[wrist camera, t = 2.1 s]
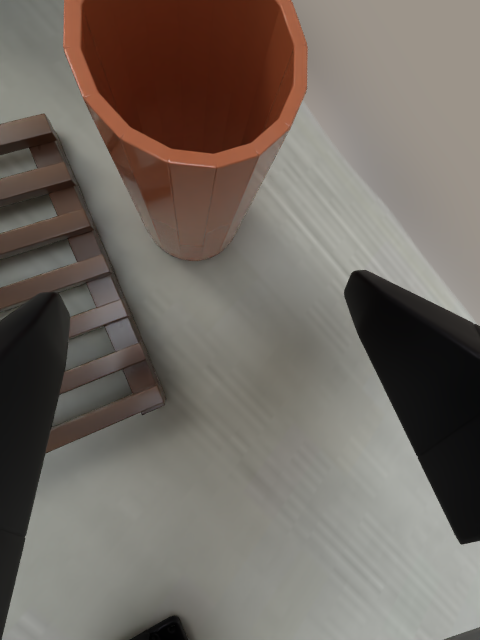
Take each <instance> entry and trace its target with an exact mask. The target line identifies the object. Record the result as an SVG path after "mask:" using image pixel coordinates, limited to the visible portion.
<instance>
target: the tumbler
mask: <svg viewBox="0 0 480 640" xmlns="http://www.w3.org/2000/svg"><path fill="white" fill-rule="evenodd" d="M63 48H64V53H65V55H66V58H67V60H68V62H69V65H70V67H71V70H72V72H73V75H74V77H75V80H76V82H77V85H78V87H79V90H80V92H81V95H82V97H83V99H84V101H85V103H86V105H87V107H88V110H89V112H90V114H91V116H92V118H93V120H94V122H95V124H96V126H97V128H98V130H99V132H100V134H101V136H102V138H103V140H104V143H105V145H106V147H107V149H108V151H109V153H110V155H111V157H112V159H113V161H114V163H115V165H116V167H117V169H118V171H119V174H120V176H121V178H122V180H123V182H124V184H125V186H126V188H127V190H128V192H129V194H130V196H131V198H132V200H133V202H134V205H135V207H136V209H137V211H138V213H139V215H140V217H141V219H142V221H143V223H144V225H145V227H146V229H147V231H148V233H149V235H150V236H151V237H152V239H153V240H154V242H155V243H156V244H157V245H158V246H159V247H160V248H161V249H162V250H164V251H165V252H167V253H168V254H170V255H172V256H174V257H177V258H179V259H183V260H189V261H199V260H205V259H208V258H211V257H213V256H215V255H217V254H219V253H220V252H221V251H223V250H224V249H225V248H226V247H227V246H228V245H229V243H230V242H231V241H232V240H233V238H234V236H235V234H236V232H237V230H238V228H239V226H240V224H241V222H242V220H243V218H244V217H245V215H246V213H247V211H248V209H249V207H250V205H251V203H252V201H253V199H254V197H255V195H256V193H257V191H258V190H259V188H260V186H261V184H262V182H263V180H264V178H265V176H266V174H267V172H268V170H269V168H270V166H271V165H272V163H273V161H274V159H275V157H276V155H277V153H278V151H279V149H280V147H281V145H282V143H283V141H284V139H285V138H286V136H287V134H288V132H289V130H290V128H291V126H292V123H293V121H294V119H295V117H296V114H297V112H298V110H299V107H300V105H301V103H302V100H303V98H304V96H305V94H306V90H307V42H306V40H305V37H304V34H303V31H302V28H301V25H300V22H299V19H298V17H297V14H296V11H295V8H294V5H293V3H292V2H291V0H64V36H63Z"/></svg>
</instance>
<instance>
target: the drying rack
mask: <svg viewBox="0 0 480 640" xmlns="http://www.w3.org/2000/svg"><path fill="white" fill-rule="evenodd" d="M26 148H29V149H30V151H31V154H32V156H33V158H34V161H35V163H36V166H37V168H38V169H34V170H31V171H27V172H23V173H19V174H16V175H12V176H8V177H5V178H1V179H0V207H3V206H7V205H10V204H14V203H17V202H21V201H24V200H28V199H31V198H35V197H38V196H42V195H45V194H49V196H50V199H51V201H52V203H53V206H54V208H55V211H56V213H57V215H58V216H57V217H53V218H50V219H47V220H43V221H40V222H37V223H33V224H30V225H27V226H23V227H20V228H17V229H13V230H10V231H7V232H3V233H0V260H1V259H4V258H7V257H10V256H13V255H16V254H20V253H23V252H26V251H29V250H32V249H36V248H39V247H42V246H45V245H48V244H51V243H55V242H58V241H61V240H64V239H68V241H69V244H70V246H71V248H72V251H73V253H74V256H75V258H76V260H77V263H74V264H71V265H68V266H65V267H62V268H59V269H56V270H53V271H50V272H46V273H43V274H40V275H37V276H34V277H31V278H28V279H25V280H22V281H19V282H16V283H13V284H10V285H7V286H4V287H1V288H0V312H3V311H6V310H9V309H11V308H14V307H17V306H20V305H23V304H25V303H26V302H28V301H29V300H30V299H32V298H33V297H34V296H36V295H37V294H39V293H42V292H57V293H58V292H61V291H64V290H67V289H70V288H73V287H75V286H78V285H81V284H84V283H86V284H87V286H88V289H89V291H90V293H91V296H92V298H93V301H94V303H95V305H96V308H94V309H91V310H88V311H86V312H83V313H80V314H77V315H74V316H72V317H70V328H69V339H71V338H74V337H77V336H79V335H82V334H85V333H87V332H90V331H93V330H95V329H98V328H101V327H103V326H104V327H105V329H106V331H107V334H108V336H109V338H110V341H111V343H112V346H113V348H114V350H115V352H113V353H111V354H108V355H106V356H103V357H100V358H98V359H95V360H93V361H90V362H88V363H85V364H83V365H80V366H77V367H75V368H72V369H70V370H67V371H65V372H64V376H63V380H62V385H61V389H60V393H59V395H60V394H62V393H65V392H67V391H70V390H72V389H75V388H77V387H80V386H82V385H85V384H87V383H90V382H92V381H95V380H97V379H100V378H102V377H105V376H107V375H110V374H112V373H115V372H117V371H119V370H122V369H123V372H124V374H125V376H126V379H127V381H128V383H129V386H130V388H131V391H132V393H133V394H131V395H129V396H126V397H124V398H121V399H119V400H117V401H114V402H112V403H109V404H107V405H105V406H102V407H100V408H98V409H95V410H93V411H90V412H88V413H86V414H83V415H81V416H78V417H76V418H74V419H71V420H69V421H67V422H64V423H62V424H59V425H57V426H55V427H52V428H51V431H50V435H49V440H48V444H47V448H46V452H45V453H48V452H50V451H52V450H55V449H57V448H59V447H62V446H64V445H66V444H68V443H71V442H73V441H75V440H78V439H80V438H82V437H85V436H87V435H89V434H92V433H94V432H96V431H99V430H101V429H103V428H105V427H108V426H110V425H112V424H115V423H117V422H119V421H122V420H124V419H126V418H129V417H131V416H133V415H136V414H138V413H140V412H141V414H142V415H144V414H146V413H148V412H151V411H153V410H155V409H158V408H160V407H162V406H164V405H165V402H166V396H165V394H164V391H163V389H162V387H161V384H160V382H159V379H158V377H157V375H156V372H155V370H154V367H153V365H152V362H151V360H150V358H149V355H148V353H147V350H146V348H145V346H144V343H143V341H142V338H141V336H140V334H139V331H138V329H137V326H136V324H135V321H134V319H133V317H132V314H131V312H130V309H129V307H128V305H127V302H126V300H125V297H124V295H123V292H122V290H121V288H120V285H119V283H118V280H117V278H116V276H115V273H114V271H113V268H112V266H111V264H110V261H109V259H108V256H107V254H106V251H105V249H104V247H103V244H102V242H101V239H100V237H99V235H98V232H97V230H96V227H95V225H94V223H93V220H92V218H91V215H90V213H89V210H88V208H87V206H86V203H85V201H84V198H83V196H82V194H81V191H80V189H79V186H78V184H77V182H76V179H75V177H74V174H73V172H72V169H71V167H70V165H69V162H68V160H67V157H66V155H65V153H64V150H63V148H62V145H61V143H60V140H59V138H58V136H57V133H56V132H55V131H54V129H53V127H52V125H51V122H50V121H49V119H48V118H47V117H46V115H45V114H40V115H36V116H31V117H27V118H23V119H19V120H15V121H11V122H6V123H2V124H0V155H3V154H6V153H10V152H14V151H18V150H22V149H26ZM69 339H68V340H69Z"/></svg>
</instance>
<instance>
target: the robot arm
mask: <svg viewBox="0 0 480 640" xmlns="http://www.w3.org/2000/svg"><path fill="white" fill-rule="evenodd" d="M344 297H345V300H346V303H347V305H348V308H349V311H350V314H351V317H352V320H353V322H354V325H355V328H356V331H357V333H358V335H359V338H360V340H361V342H362V344H363V346H364V348H365V350H366V352H367V354H368V356H369V358H370V360H371V363H372V365H373V367H374V369H375V371H376V373H377V375H378V377H379V379H380V381H381V383H382V385H383V387H384V389H385V391H386V393H387V395H388V398H389V400H390V402H391V404H392V406H393V408H394V410H395V412H396V414H397V416H398V418H399V420H400V422H401V424H402V426H403V428H404V430H405V432H406V435H407V437H408V439H409V441H410V443H411V445H412V447H413V449H414V451H415V453H416V455H417V456H418V460H419V462H420V464H421V466H422V468H423V470H424V472H425V474H426V476H427V478H428V480H429V482H430V484H431V486H432V488H433V490H434V493H435V495H436V497H437V499H438V501H439V503H440V505H441V507H442V509H443V511H444V513H445V515H446V517H447V519H448V521H449V523H450V526H451V528H452V530H453V532H454V534H455V536H456V538H457V539H458V541H459V543H460V544H461V545H462V544H467V543H471V542H476V541H480V326H478V325H476V324H473V323H472V322H470V321H468V320H466V319H464V318H462V317H460V316H458V315H456V314H454V313H452V312H450V311H448V310H446V309H444V308H442V307H440V306H438V305H436V304H434V303H432V302H430V301H428V300H426V299H424V298H422V297H420V296H418V295H416V294H414V293H411V292H409V291H407V290H405V289H403V288H401V287H399V286H397V285H395V284H393V283H391V282H389V281H387V280H385V279H383V278H381V277H379V276H377V275H375V274H373V273H371V272H369V271H367V270H357V271H353V272H352V273H351V276H350V278H349V280H348V283H347V285H346V288H345V290H344ZM69 328H70V315H69V312H68V310H67V308H66V306H65V304H64V303H63V301H62V299H61V297H60V295H59V294H58V293H57V292H42V293H39V294H37V295H36V296H34V297H33V298H32V299H30V300H29V301H28V302H26V303H25V304H23V305H22V306H21V307H19V308H18V309H17V310H15V311H14V312H12V313H11V314H10V315H8V316H7V317H6V318H4V319H3V320H1V321H0V640H2V635H3V631H4V627H5V623H6V618H7V614H8V610H9V606H10V602H11V597H12V593H13V589H14V585H15V580H16V576H17V572H18V568H19V563H20V559H21V555H22V551H23V547H24V542H25V536H26V533H27V529H28V524H29V520H30V516H31V512H32V507H33V503H34V499H35V495H36V490H37V486H38V482H39V478H40V474H41V469H42V465H43V461H44V457H45V452H46V448H47V444H48V440H49V435H50V431H51V427H52V423H53V419H54V414H55V410H56V406H57V402H58V397H59V393H60V389H61V385H62V380H63V376H64V372H65V367H66V359H67V349H68V339H69ZM171 625H174V626H171ZM130 640H188V638H187V636H186V633H185V631H184V629H183V626H182V624H181V622H180V619H179V618H178V617H177V616H171V617H169V618H167V619H165V620H164V621H162V622H160V623H158V624H157V625H155V626H153V627H151V628H149V629H148V630H146V631H144V632H142V633H141V634H139V635H137V636H135V637H133V638H132V639H130ZM444 640H480V627H479V628H476V629H473V630H470V631H467V632H464V633H461V634H458V635H455V636H452V637H450V638H447V639H444Z"/></svg>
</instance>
